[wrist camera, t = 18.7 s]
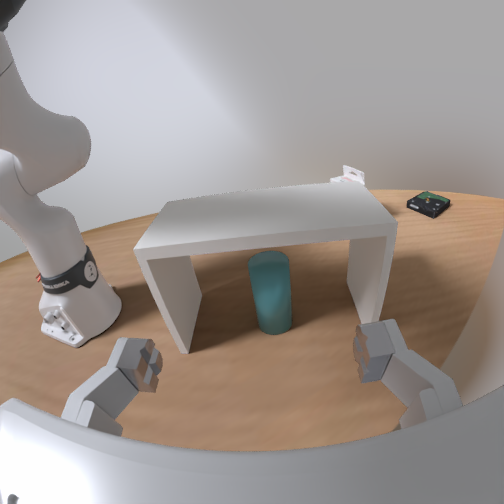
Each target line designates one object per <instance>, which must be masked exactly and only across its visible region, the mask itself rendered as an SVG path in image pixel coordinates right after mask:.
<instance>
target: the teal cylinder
mask: <svg viewBox="0 0 504 504" xmlns="http://www.w3.org/2000/svg"><path fill="white" fill-rule="evenodd" d="M248 269H249V275H250V280H251V286H252V292H253V297H254V303H255V309H256V314H257V320H258V325H259V328H260V329H261V330H262V331H263V332H264V333H266V334H270V335H278V334H282V333H284V332H286V331H287V330H289V328H290V327H291V325H292V303H291V286H290V270H289V259H288V257H287V256H286V255H285V254H283V253H281V252H278V251H265V252H261V253H258V254H256V255H254V256H253V257H252V258H251V259H250V260H249V262H248Z"/></svg>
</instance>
